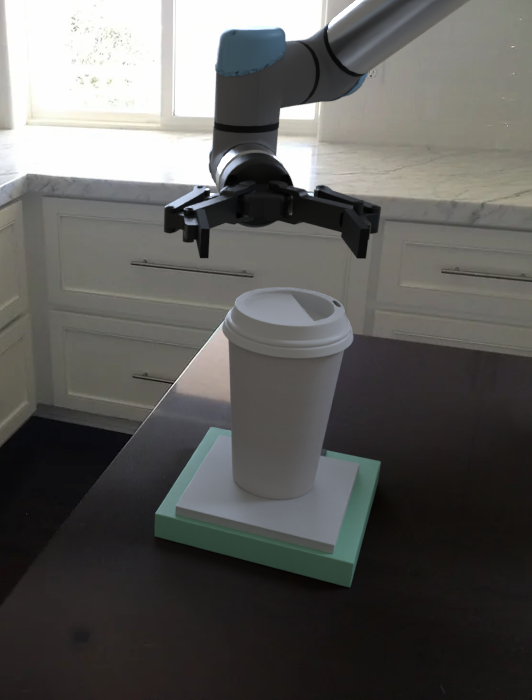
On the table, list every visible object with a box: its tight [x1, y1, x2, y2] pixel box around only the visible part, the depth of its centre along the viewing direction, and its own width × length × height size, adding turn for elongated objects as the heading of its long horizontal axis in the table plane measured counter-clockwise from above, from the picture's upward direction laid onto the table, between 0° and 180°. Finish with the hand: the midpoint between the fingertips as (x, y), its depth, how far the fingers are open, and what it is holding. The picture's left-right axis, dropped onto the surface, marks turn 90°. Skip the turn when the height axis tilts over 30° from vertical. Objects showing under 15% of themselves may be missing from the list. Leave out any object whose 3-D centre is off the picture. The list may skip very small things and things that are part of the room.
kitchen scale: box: [153, 426, 382, 588], centre depth 71 cm, size 15×15×3 cm
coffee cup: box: [221, 286, 354, 500], centre depth 67 cm, size 10×10×15 cm
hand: (283, 243), depth 75 cm, fingers open, 13 cm apart
